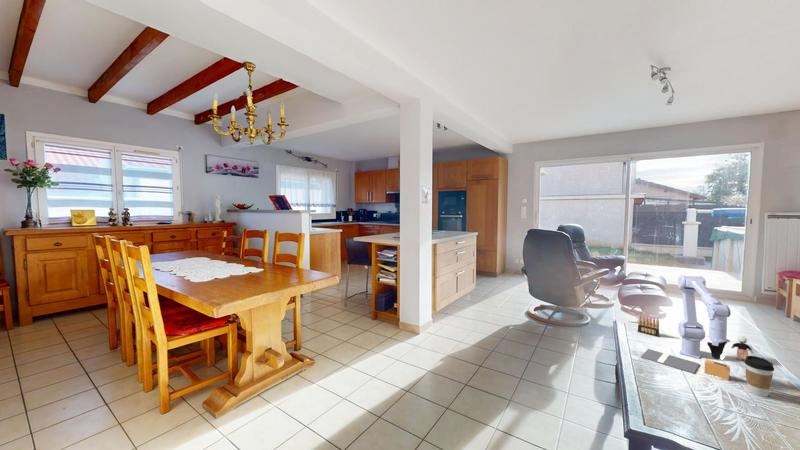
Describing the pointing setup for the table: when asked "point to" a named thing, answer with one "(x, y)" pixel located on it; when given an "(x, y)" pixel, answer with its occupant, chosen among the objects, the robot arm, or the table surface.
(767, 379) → the coffee cup
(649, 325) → the ammunition clip
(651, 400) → the table surface
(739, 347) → the grandmother figurine
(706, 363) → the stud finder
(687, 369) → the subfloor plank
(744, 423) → the table surface
